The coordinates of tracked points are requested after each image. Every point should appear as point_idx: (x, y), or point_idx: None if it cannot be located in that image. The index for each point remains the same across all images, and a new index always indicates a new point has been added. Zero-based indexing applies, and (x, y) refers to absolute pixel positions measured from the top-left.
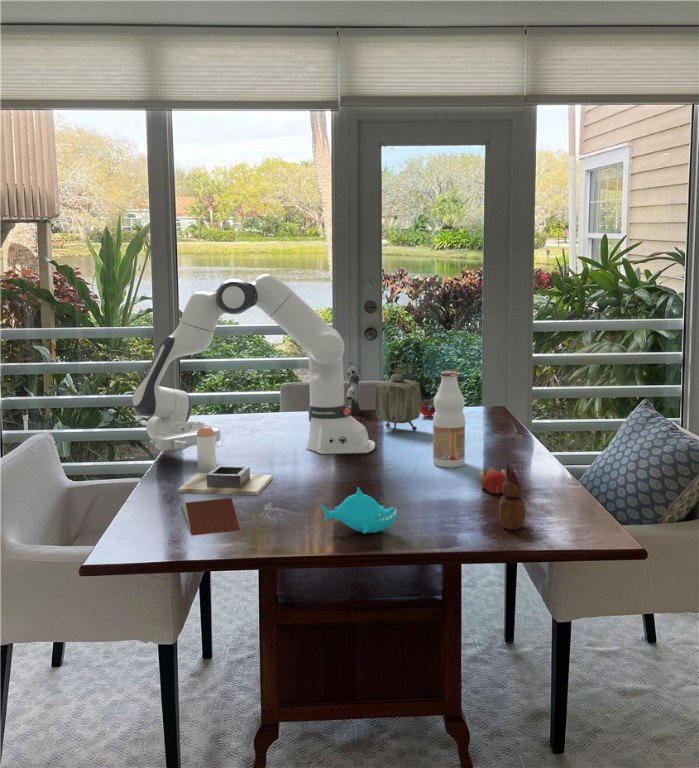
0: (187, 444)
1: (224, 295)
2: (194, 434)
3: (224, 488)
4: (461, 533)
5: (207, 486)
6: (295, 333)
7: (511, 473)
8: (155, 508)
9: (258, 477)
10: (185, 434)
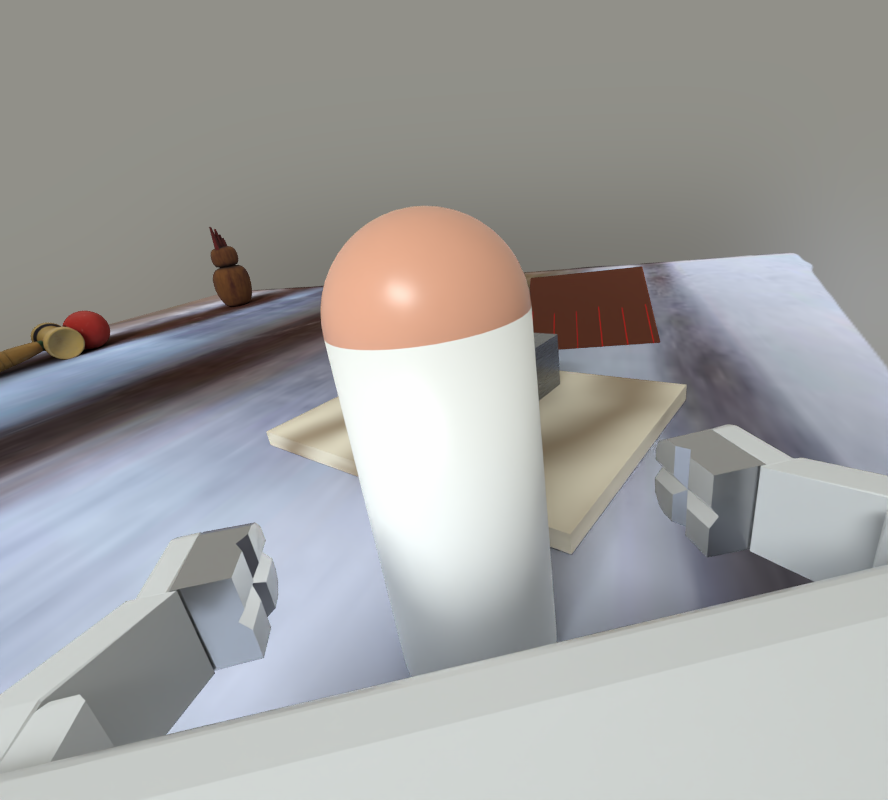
0: (659, 457)
1: None
2: (453, 671)
3: None
4: (294, 298)
5: (558, 381)
6: None
7: (218, 237)
8: (747, 335)
9: (329, 422)
10: (792, 745)
